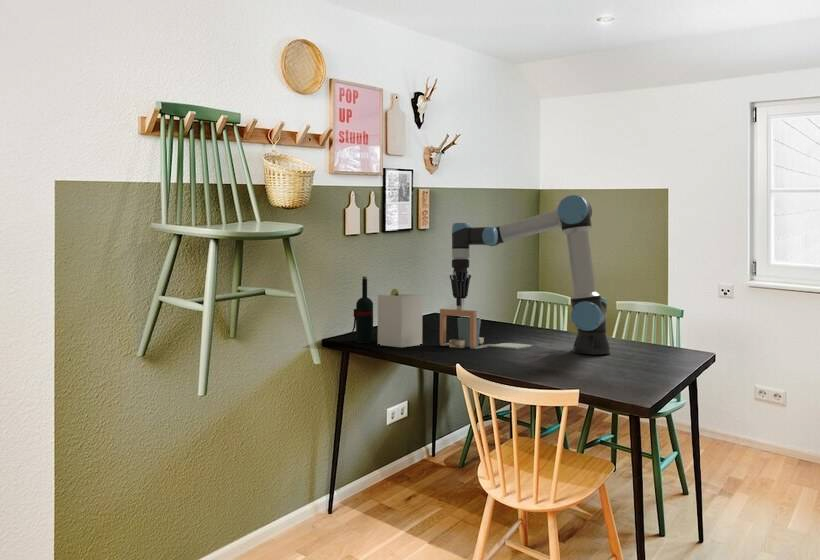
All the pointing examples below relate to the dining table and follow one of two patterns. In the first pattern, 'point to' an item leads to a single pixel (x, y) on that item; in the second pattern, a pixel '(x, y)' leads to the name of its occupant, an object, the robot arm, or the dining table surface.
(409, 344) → the light grey box
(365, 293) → the wine bottle
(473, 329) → the wooden arch
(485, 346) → the rails
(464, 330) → the grey open tube
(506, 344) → the coaster
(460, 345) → the beige rectangular block
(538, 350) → the dining table surface
